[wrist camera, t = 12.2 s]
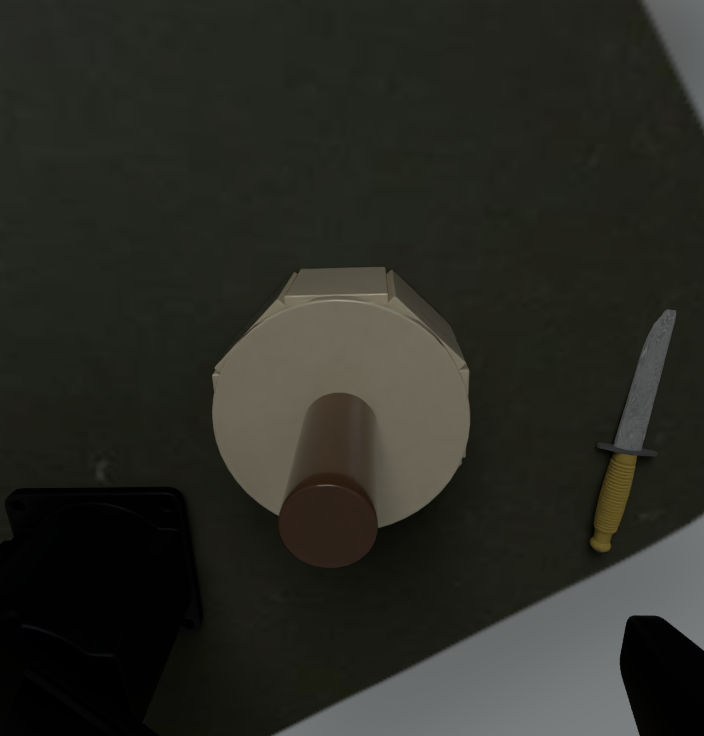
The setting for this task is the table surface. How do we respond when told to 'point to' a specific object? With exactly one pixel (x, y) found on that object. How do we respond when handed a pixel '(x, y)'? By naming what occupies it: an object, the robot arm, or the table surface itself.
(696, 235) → the table surface
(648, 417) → the dagger
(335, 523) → the cover
